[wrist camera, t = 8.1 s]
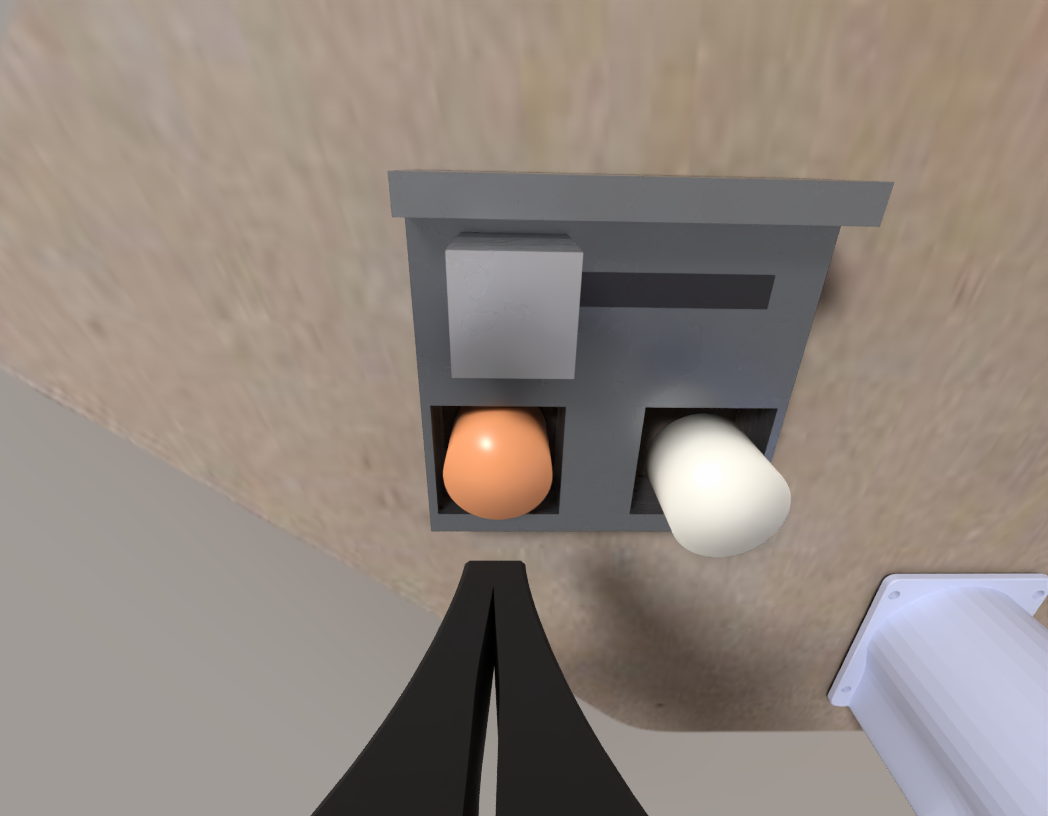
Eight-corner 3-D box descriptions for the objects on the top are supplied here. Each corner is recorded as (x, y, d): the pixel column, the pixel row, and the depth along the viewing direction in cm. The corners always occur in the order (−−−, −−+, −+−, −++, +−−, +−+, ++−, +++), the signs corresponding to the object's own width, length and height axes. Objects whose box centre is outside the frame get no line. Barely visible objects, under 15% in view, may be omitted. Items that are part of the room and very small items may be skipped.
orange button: (544, 471, 19) (550, 519, 17) (454, 470, 19) (446, 519, 17) (548, 389, 18) (555, 429, 15) (451, 388, 18) (439, 428, 15)
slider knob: (562, 339, 15) (573, 379, 12) (462, 338, 14) (451, 377, 12) (568, 235, 13) (583, 252, 11) (458, 232, 13) (444, 250, 10)
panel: (724, 491, 20) (769, 560, 17) (440, 490, 20) (424, 561, 17) (803, 178, 15) (894, 182, 12) (417, 169, 15) (387, 170, 11)
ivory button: (734, 499, 18) (773, 557, 15) (639, 499, 18) (661, 557, 15) (757, 413, 16) (805, 461, 14) (652, 412, 16) (680, 461, 14)
